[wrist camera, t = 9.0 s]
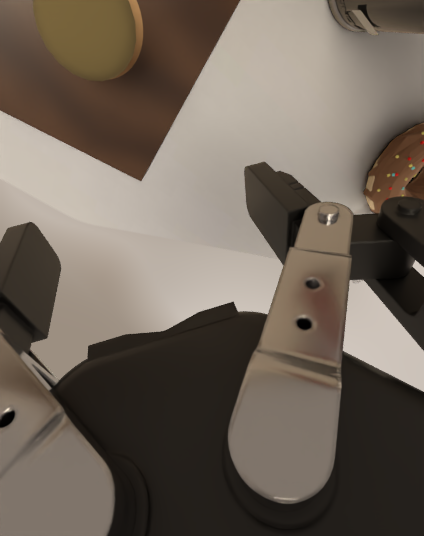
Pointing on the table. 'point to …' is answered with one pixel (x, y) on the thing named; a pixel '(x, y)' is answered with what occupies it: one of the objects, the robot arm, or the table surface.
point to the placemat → (111, 80)
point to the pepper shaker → (88, 35)
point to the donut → (398, 169)
